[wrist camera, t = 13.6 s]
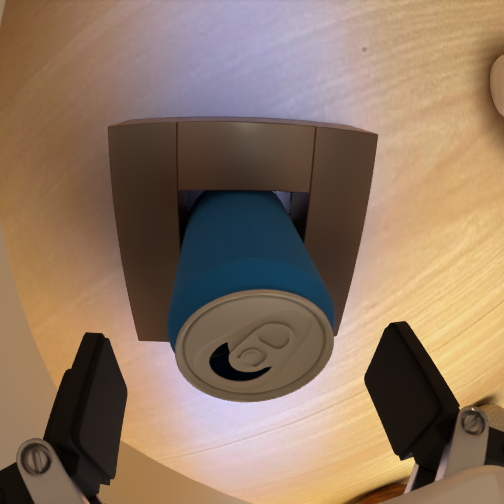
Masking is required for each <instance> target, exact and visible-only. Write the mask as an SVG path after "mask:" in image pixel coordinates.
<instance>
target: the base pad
mask: <svg viewBox="0 0 504 504" xmlns="http://www.w3.org/2000/svg"><path fill="white" fill-rule="evenodd" d="M108 139H109V157H110V170H111V182H112V192H113V202H114V210H115V218H116V226H117V233H118V240H119V246H120V253H121V259H122V265H123V270H124V276H125V281H126V286H127V291H128V296H129V301H130V306H131V310H132V315H133V319H134V323H135V328H136V332H137V336H138V340H139V341H158V342H169V338H168V333H167V317H168V312H169V306H170V301H171V296H172V291H173V286H174V281H175V277H176V272H177V267H178V263H179V258H180V254H181V249H182V245H183V240H184V236H185V232H186V228H187V207H186V191H192V190H239V191H285V192H292V200H291V210H290V219H291V221H292V223H293V225H294V227H295V228H296V230H297V232H298V234H299V236H300V238H301V240H302V242H303V244H304V245H305V247H306V249H307V251H308V253H309V255H310V257H311V259H312V261H313V263H314V265H315V267H316V268H317V270H318V272H319V274H320V276H321V278H322V280H323V282H324V284H325V286H326V288H327V290H328V292H329V294H330V296H331V298H332V302H333V305H334V312H335V324H334V330H333V336H337V333H338V330H339V326H340V323H341V319H342V316H343V312H344V308H345V304H346V301H347V297H348V293H349V289H350V285H351V281H352V277H353V272H354V268H355V264H356V259H357V255H358V250H359V246H360V241H361V236H362V231H363V226H364V221H365V216H366V211H367V205H368V200H369V194H370V188H371V182H372V175H373V169H374V162H375V155H376V147H377V140H378V134H375V133H372V132H369V131H366V130H362V129H359V128H355V127H352V126H346V125H339V124H331V123H322V122H312V121H302V120H299V121H298V120H289V119H275V118H256V117H186V118H185V117H170V118H151V119H137V120H128V121H125V122H121V123H118V124H115V125H111V126H108Z"/></svg>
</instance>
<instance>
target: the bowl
mask: <svg viewBox="0 0 504 504" xmlns="http://www.w3.org/2000/svg"><path fill="white" fill-rule="evenodd" d="M406 487H407V484H393V485H390V486H387V487H384V488H381V489H379V490H376V491H374V492H372V493H370V494H368V495H367V496H365V497H364V498H363V499H362V500H361V501H360V502H359V504H378V503H381V502H384V501H387V500H389V499H392V498H395V497H398V496H401V495H403V494H404V492H405V489H406Z"/></svg>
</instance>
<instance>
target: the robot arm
mask: <svg viewBox="0 0 504 504" xmlns="http://www.w3.org/2000/svg"><path fill="white" fill-rule="evenodd" d="M364 381H365V385H366V387H367V389H368V392H369V394H370V396H371V399H372V401H373V403H374V406H375V408H376V410H377V413H378V415H379V417H380V420H381V422H382V424H383V427H384V429H385V432H386V434H387V437H388V439H389V441H390V444H391V446H392V449H393V451H394V453H395V454H396V455H397V456H398V455H399V458H400V460H401V461H402V460H405V459H408V458H411V457H414V460H415V465H414V468H413V471H412V473H411V476H410V479H409V482H408V484H407V487H406V489H405V492H404V494H403V495H401V496H398V497H395V498H392V499H389V500H387V501H384V502H381V503H378V504H504V432H503V431H501V430H498V429H495V428H493V427H490V426H489V421H488V418H487V416H486V414H485V413H484V412H483V411H482V410H481V409H479V408H477V407H475V406H466V407H464V408H462V409H461V410H460V409H459V408H458V407H459V406H460V405H459V403H458V402H457V400H456V398H455V397H454V395H453V393H452V391H451V390H450V388H449V386H448V385H447V383H446V382H445V380H444V378H443V377H442V375H441V373H440V372H439V370H438V369H437V367H436V365H435V364H434V362H433V361H432V359H431V358H430V356H429V355H428V353H427V351H426V350H425V348H424V347H423V345H422V344H421V342H420V341H419V339H418V338H417V336H416V335H415V333H414V332H413V330H412V329H411V327H410V326H409V324H408V323H407V322H405V321H401V322H394V323H390V324H389V325H388V327H386V328H385V330H384V332H383V334H382V337H381V339H380V342H379V344H378V346H377V349H376V351H375V353H374V356H373V358H372V360H371V363H370V365H369V367H368V369H367V371H366V374H365V377H364ZM126 401H127V387H126V384H125V381H124V379H123V376H122V374H121V371H120V368H119V366H118V363H117V360H116V358H115V355H114V352H113V349H112V346H111V343H110V340H109V339H108V338H105V337H104V335H103V334H102V333H89V332H86V333H85V334H84V336H83V339H82V341H81V344H80V347H79V349H78V352H77V354H76V357H75V360H74V362H73V365H72V368H71V369H68V370H66V371H65V373H64V376H63V378H62V381H61V384H60V387H59V390H58V392H57V395H56V398H55V401H54V405H53V408H52V411H51V414H50V417H49V420H48V424H47V427H46V430H45V434H44V437H43V440H42V439H38V438H33V439H30V440H27V441H25V442H24V443H22V445H21V446H20V447H19V449H18V451H17V455H16V462H15V463H13V464H12V465H10V466H8V467H6V468H4V469H2V470H1V471H0V504H105V503H104V502H103V500H102V499H101V497H100V496H99V494H98V493H99V488H100V484H104V485H110V479H114V478H115V475H116V467H117V457H118V451H119V443H120V437H121V430H122V424H123V418H124V412H125V406H126Z"/></svg>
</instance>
